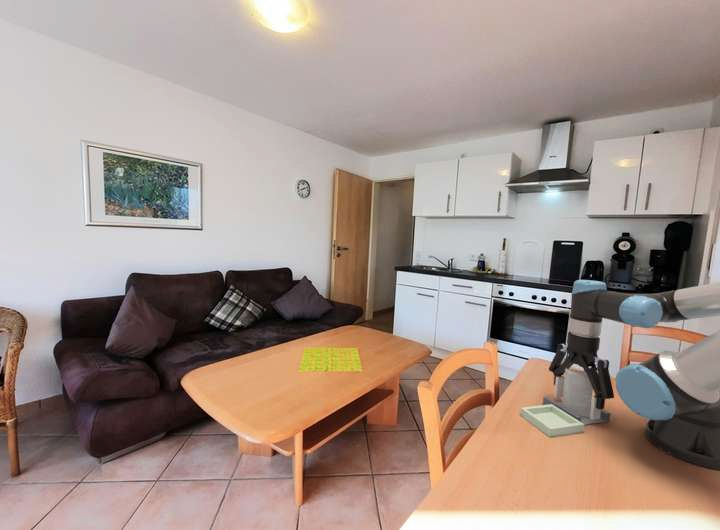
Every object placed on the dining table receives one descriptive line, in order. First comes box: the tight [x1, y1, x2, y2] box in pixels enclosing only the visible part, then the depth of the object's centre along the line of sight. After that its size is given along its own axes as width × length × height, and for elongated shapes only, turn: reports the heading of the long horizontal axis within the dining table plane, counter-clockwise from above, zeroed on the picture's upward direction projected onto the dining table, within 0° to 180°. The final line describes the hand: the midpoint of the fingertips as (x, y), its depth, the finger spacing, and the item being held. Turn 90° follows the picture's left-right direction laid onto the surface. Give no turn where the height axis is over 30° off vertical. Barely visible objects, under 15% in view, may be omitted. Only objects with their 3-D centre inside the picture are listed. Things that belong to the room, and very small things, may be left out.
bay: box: [542, 396, 612, 426], centre depth 90 cm, size 11×12×2 cm
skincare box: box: [561, 368, 594, 417], centre depth 90 cm, size 6×4×12 cm
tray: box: [519, 404, 585, 438], centre depth 84 cm, size 10×11×2 cm
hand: (575, 407), depth 90 cm, fingers open, 11 cm apart
